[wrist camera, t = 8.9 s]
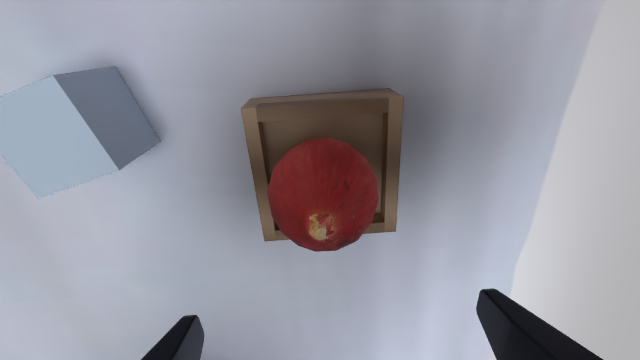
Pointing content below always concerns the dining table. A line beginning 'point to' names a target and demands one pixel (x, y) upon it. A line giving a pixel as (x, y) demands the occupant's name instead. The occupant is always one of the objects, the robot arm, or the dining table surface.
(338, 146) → the onion
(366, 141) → the wooden square tray
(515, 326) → the robot arm
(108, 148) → the slate cube
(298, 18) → the dining table surface
